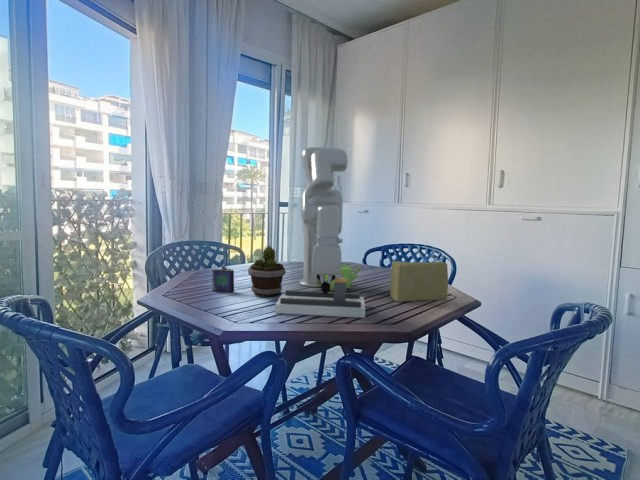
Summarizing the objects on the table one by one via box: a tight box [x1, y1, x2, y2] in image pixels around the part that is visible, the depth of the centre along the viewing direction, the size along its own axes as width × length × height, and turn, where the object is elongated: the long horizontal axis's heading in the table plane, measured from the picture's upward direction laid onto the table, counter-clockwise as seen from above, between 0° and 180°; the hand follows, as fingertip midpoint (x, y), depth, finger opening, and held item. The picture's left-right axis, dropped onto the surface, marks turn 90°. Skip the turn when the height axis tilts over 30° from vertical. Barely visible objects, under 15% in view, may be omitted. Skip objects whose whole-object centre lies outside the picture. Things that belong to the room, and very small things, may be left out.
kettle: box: [324, 262, 364, 292], centre depth 165 cm, size 15×14×11 cm
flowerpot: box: [247, 244, 287, 297], centre depth 153 cm, size 14×15×20 cm
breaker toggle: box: [333, 278, 347, 301], centre depth 134 cm, size 5×4×8 cm
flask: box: [211, 264, 235, 293], centre depth 155 cm, size 9×3×11 cm, turn 79°
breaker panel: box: [274, 289, 366, 319], centre depth 135 cm, size 15×30×5 cm, turn 86°
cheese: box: [389, 260, 449, 303], centre depth 152 cm, size 22×10×15 cm, turn 97°
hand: (325, 293), depth 135 cm, fingers closed
